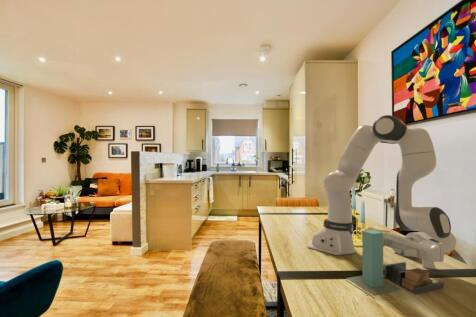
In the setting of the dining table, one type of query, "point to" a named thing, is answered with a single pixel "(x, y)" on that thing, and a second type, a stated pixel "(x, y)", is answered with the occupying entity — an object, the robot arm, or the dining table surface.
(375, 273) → the teal rectangular block
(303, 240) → the dining table surface
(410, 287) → the lower walnut offcut
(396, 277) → the rack
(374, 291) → the rubber mat
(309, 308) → the dining table surface
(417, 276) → the upper walnut offcut
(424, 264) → the spoon rest
